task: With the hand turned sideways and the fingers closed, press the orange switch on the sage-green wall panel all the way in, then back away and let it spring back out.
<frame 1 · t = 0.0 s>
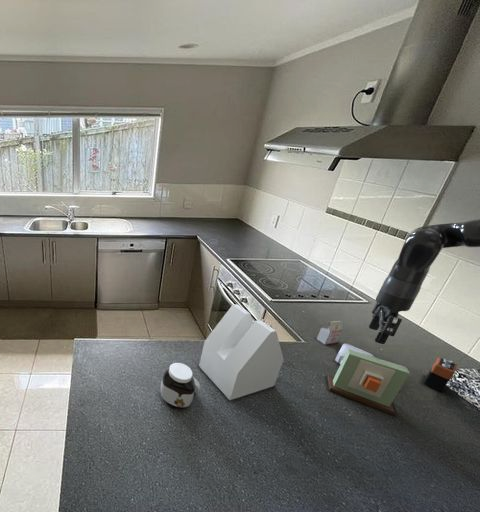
hand: (375, 335, 90), 21 cm above the worktop, tool pointing down, fingers open, 8 cm apart
battery: (433, 384, 100), on the worktop
switch: (372, 384, 87), point 9 cm above the worktop, slide at -0.2 cm
white grooved wedge block: (234, 376, 100), on the worktop
wall panel: (358, 395, 93), on the worktop
charger: (350, 367, 106), on the worktop
spread jar: (178, 395, 91), on the worktop
small printed carton: (326, 341, 120), on the worktop
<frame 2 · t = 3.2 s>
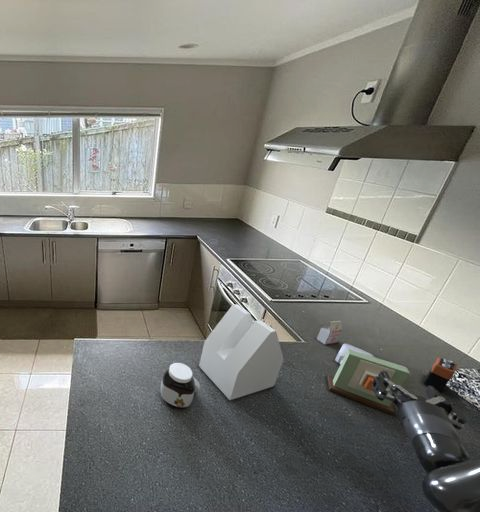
hand: (405, 380, 71), 22 cm above the worktop, tool horizontal, fingers open, 8 cm apart
nothing on the worktop moved.
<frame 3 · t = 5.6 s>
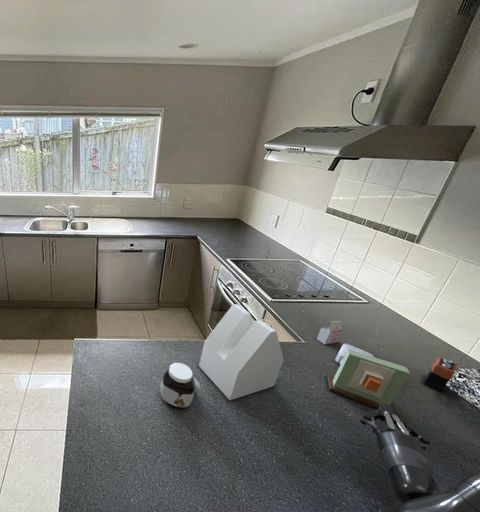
hand: (384, 406, 77), 11 cm above the worktop, tool horizontal, fingers closed
nothing on the worktop moved.
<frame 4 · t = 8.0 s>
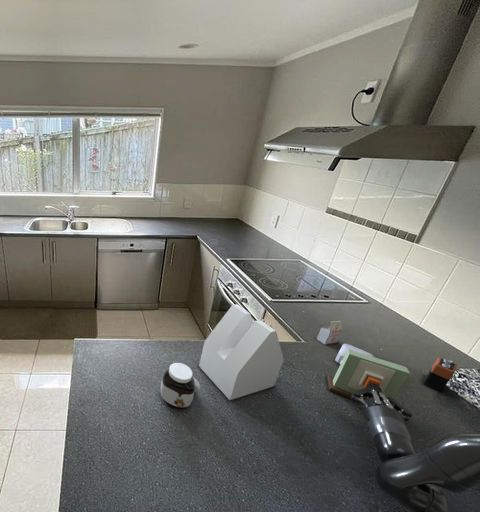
hand: (372, 385, 86), 9 cm above the worktop, tool horizontal, fingers closed
switch: (372, 383, 87), point 9 cm above the worktop, slide at 0.1 cm, touching gripper
everything else where it was.
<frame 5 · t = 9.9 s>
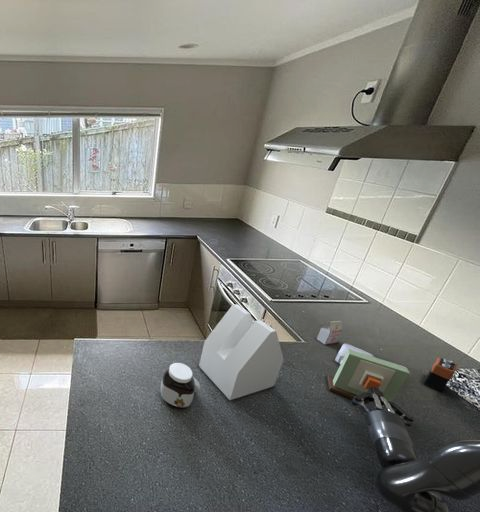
hand: (373, 389, 85), 9 cm above the worktop, tool horizontal, fingers closed
switch: (372, 384, 87), point 9 cm above the worktop, slide at -0.1 cm
everything else where it was.
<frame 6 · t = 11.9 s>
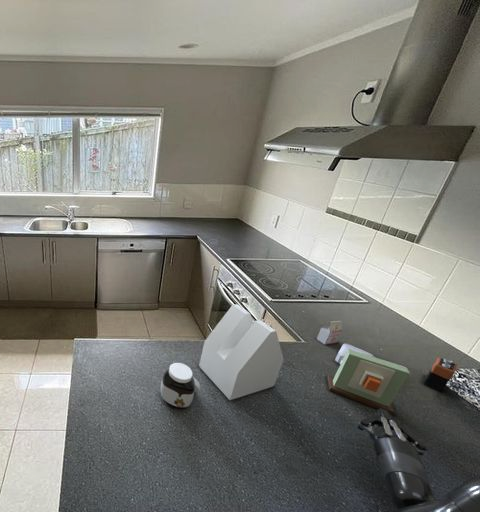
hand: (381, 411, 77), 9 cm above the worktop, tool horizontal, fingers closed
nothing on the worktop moved.
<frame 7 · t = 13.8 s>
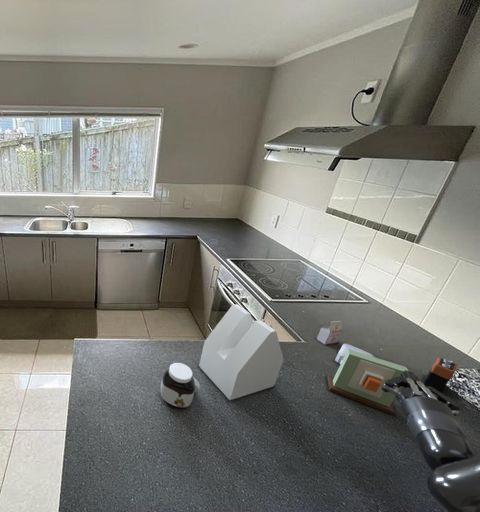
hand: (407, 373, 71), 24 cm above the worktop, tool horizontal, fingers closed
nothing on the worktop moved.
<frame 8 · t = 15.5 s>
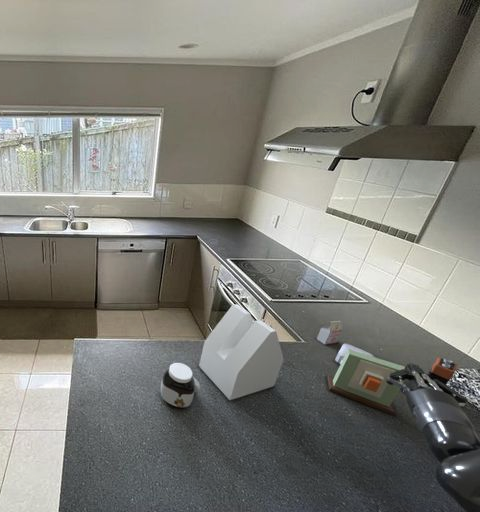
hand: (411, 366, 70), 26 cm above the worktop, tool horizontal, fingers closed
nothing on the worktop moved.
at the end: switch pulled out 1.2 cm at the most during the clip, back to where it started at the end; switch slide at -0.1 cm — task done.
